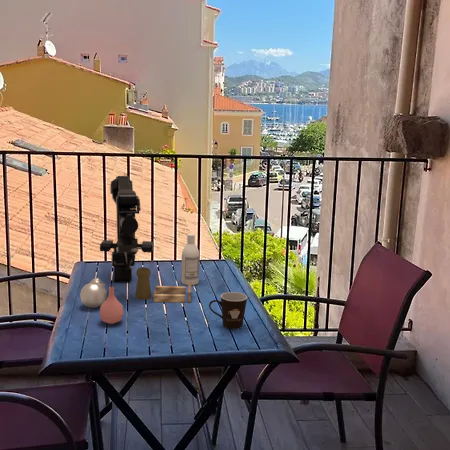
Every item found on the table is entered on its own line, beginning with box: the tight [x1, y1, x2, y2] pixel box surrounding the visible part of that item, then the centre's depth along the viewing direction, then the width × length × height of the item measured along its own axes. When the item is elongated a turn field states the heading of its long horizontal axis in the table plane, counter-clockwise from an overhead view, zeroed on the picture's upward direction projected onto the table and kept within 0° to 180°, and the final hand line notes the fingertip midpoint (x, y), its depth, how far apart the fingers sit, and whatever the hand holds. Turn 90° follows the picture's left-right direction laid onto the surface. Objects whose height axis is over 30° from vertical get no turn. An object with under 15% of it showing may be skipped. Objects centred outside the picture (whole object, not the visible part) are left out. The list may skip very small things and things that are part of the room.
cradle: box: [152, 283, 192, 304], centre depth 207 cm, size 14×10×4 cm
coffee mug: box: [208, 291, 248, 330], centre depth 184 cm, size 12×9×10 cm
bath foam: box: [180, 233, 200, 286], centre depth 223 cm, size 7×7×20 cm
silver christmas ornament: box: [79, 277, 108, 309], centre depth 194 cm, size 9×10×10 cm
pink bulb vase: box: [98, 286, 125, 325], centre depth 181 cm, size 8×8×12 cm
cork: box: [134, 266, 153, 301], centre depth 206 cm, size 6×6×11 cm
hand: (127, 269), depth 205 cm, fingers closed
